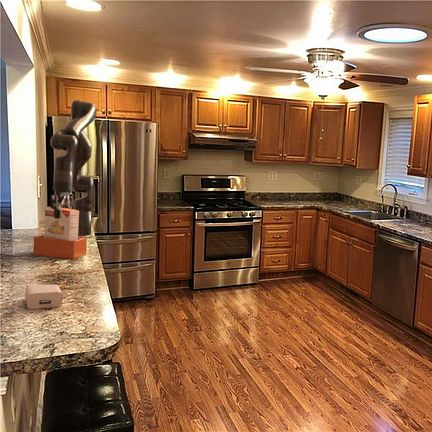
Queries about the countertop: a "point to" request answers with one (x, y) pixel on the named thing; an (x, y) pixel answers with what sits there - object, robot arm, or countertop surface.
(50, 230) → the cracker box
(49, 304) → the charger
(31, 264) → the countertop surface
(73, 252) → the holder
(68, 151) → the robot arm
